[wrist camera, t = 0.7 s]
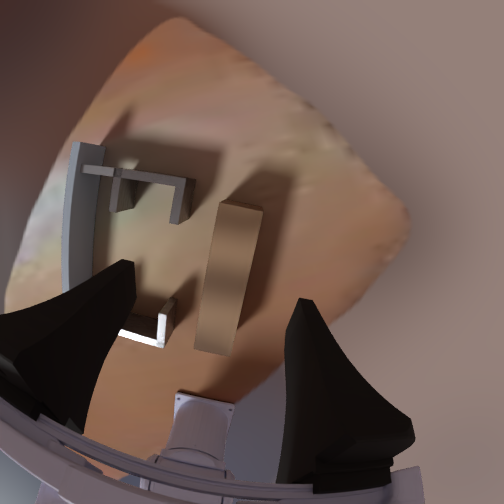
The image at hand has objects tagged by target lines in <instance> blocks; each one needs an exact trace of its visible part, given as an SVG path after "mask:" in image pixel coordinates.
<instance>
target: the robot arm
mask: <svg viewBox="0 0 504 504" xmlns="http://www.w3.org/2000/svg"><path fill="white" fill-rule="evenodd" d="M136 298H137V295H136V283H135V267H134V262H132V261H128V260H124V259H121V260H119V261H118V262H116V263H114V264H112V265H111V266H109V267H108V268H106V269H104V270H103V271H101V272H99V273H98V274H96V275H95V276H93V277H91V278H90V279H88V280H86V281H85V282H83V283H81V284H79V285H77V286H76V287H74V288H72V289H70V290H69V291H67V292H65V293H63V294H61V295H59V296H56V297H54V298H52V299H50V300H47V301H45V302H42V303H40V304H37V305H34V306H32V307H29V308H26V309H22V310H19V311H15V312H11V313H7V314H2V315H0V450H1V451H2V452H4V453H5V454H6V455H7V456H8V457H10V458H11V459H12V460H13V461H14V462H16V463H17V464H19V465H20V466H21V467H22V468H24V469H25V470H26V471H28V472H29V473H30V474H32V475H33V476H35V477H36V478H38V479H39V480H41V481H42V483H41V486H40V489H39V492H38V495H37V499H36V502H35V504H232V502H233V498H237V499H247V500H261V501H238V502H236V504H425V500H424V492H423V484H422V478H421V472H420V467H419V466H415V467H411V468H406V469H402V470H397V471H394V472H391V473H390V467H391V466H393V463H394V462H393V457H394V456H396V455H398V454H399V453H401V452H403V451H404V450H406V449H407V448H409V447H410V446H411V445H412V444H413V443H414V442H415V434H414V430H413V425H412V421H411V419H410V418H409V417H408V416H406V415H405V414H403V413H402V412H401V411H399V410H398V409H397V408H395V407H394V406H393V405H392V404H390V403H389V402H388V401H387V400H386V399H384V398H383V397H382V396H381V395H380V394H379V393H378V392H377V391H376V390H375V389H374V388H373V387H372V386H371V385H370V384H369V383H368V382H367V381H366V380H365V379H364V378H363V377H362V375H361V374H360V373H359V372H358V371H357V370H356V368H355V367H354V366H353V365H352V363H351V362H350V361H349V359H348V358H347V357H346V355H345V354H344V352H343V351H342V349H341V348H340V346H339V345H338V343H337V342H336V340H335V339H334V337H333V335H332V334H331V332H330V330H329V329H328V327H327V325H326V323H325V321H324V320H323V318H322V316H321V314H320V312H319V311H318V309H317V307H316V305H315V303H314V302H313V300H309V299H303V298H299V299H298V302H297V304H296V307H295V309H294V312H293V314H292V317H291V319H290V321H289V324H288V326H287V329H286V335H285V348H284V355H285V376H286V414H285V425H284V434H283V442H282V450H281V456H280V463H279V468H278V474H277V479H276V483H275V484H274V483H259V482H248V481H239V480H235V477H234V475H233V474H232V472H231V471H230V470H225V462H223V461H224V452H225V442H226V438H227V435H228V431H229V428H230V424H231V420H232V417H233V413H234V410H235V405H234V404H232V403H226V402H221V401H216V400H211V399H206V398H201V397H197V396H193V395H188V394H184V393H180V392H177V393H176V395H175V408H174V423H173V426H172V429H171V432H170V435H169V438H168V441H167V445H166V448H165V449H162V450H161V453H160V456H159V455H157V454H153V455H152V456H150V457H149V458H148V459H147V460H143V459H140V458H137V457H134V456H131V455H128V454H126V453H123V452H120V451H117V450H115V449H112V448H110V447H107V446H105V445H102V444H100V443H98V442H95V441H93V440H91V439H89V438H87V437H84V436H82V434H84V428H85V423H86V418H87V413H88V409H89V405H90V401H91V398H92V394H93V391H94V388H95V385H96V382H97V379H98V376H99V373H100V371H101V368H102V365H103V363H104V360H105V358H106V356H107V354H108V352H109V350H110V348H111V347H112V345H113V343H114V341H115V339H116V338H117V336H118V334H119V332H120V331H121V329H122V327H123V325H124V324H125V322H126V320H127V318H128V317H129V315H130V312H131V310H132V308H133V305H134V303H135V300H136ZM64 445H65V446H67V447H69V448H71V449H73V450H75V451H77V452H79V453H81V454H83V455H85V456H87V457H89V458H91V459H94V460H96V461H98V462H100V463H103V464H105V465H108V466H110V467H113V468H115V469H118V470H120V471H123V472H126V473H129V474H131V475H134V476H137V477H140V478H141V481H140V488H138V487H135V486H132V485H129V484H126V483H124V482H121V481H118V480H115V479H113V478H110V477H108V476H105V475H103V472H102V470H100V469H98V468H97V467H95V466H93V465H92V464H91V463H89V462H88V461H87V460H86V459H85V458H84V457H82V456H80V455H78V454H76V453H75V452H73V451H71V450H70V449H68V448H66V447H65V446H64Z"/></svg>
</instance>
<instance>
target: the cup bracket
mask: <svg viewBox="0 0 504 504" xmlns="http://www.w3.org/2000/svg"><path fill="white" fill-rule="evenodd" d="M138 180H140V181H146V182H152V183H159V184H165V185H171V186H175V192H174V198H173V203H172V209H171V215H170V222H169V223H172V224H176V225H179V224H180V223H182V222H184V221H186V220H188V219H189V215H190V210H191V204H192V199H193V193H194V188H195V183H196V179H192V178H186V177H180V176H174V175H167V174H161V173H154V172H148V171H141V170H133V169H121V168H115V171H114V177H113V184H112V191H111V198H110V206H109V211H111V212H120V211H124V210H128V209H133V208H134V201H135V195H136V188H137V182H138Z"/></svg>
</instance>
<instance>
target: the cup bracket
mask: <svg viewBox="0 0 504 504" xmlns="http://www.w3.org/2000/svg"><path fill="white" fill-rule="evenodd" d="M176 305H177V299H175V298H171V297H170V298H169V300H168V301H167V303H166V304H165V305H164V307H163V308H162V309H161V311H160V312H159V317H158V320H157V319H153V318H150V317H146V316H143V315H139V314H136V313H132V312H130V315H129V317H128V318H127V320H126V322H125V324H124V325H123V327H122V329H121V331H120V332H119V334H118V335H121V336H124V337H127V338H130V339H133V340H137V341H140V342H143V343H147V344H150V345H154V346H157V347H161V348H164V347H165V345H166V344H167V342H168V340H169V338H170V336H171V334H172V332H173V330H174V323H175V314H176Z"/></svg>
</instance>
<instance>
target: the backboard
mask: <svg viewBox="0 0 504 504" xmlns="http://www.w3.org/2000/svg"><path fill="white" fill-rule="evenodd" d="M105 148H106V147H104V146H99V145H94V144H89V143H83V142H73V144H72V149H71V155H70V161H69V167H68V174H67V181H66V189H65V198H64V209H63V223H62V292H63V293H65V292H67V291H69V290H70V289H72V288H74V287H76V286H77V285H79V284H81V283H83V282H85V281H86V280H88V279H90V278H91V277H92V262H93V240H94V226H95V215H96V206H97V197H98V190H99V183H100V176H101V175H104V176H111V177H114V171H115V167H107V166H102V164H103V159H104V153H105ZM121 169H123V168H121Z"/></svg>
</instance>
